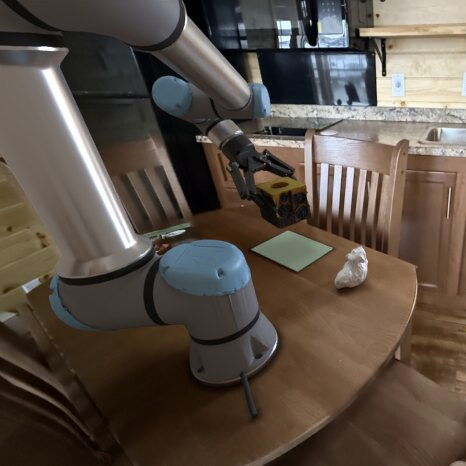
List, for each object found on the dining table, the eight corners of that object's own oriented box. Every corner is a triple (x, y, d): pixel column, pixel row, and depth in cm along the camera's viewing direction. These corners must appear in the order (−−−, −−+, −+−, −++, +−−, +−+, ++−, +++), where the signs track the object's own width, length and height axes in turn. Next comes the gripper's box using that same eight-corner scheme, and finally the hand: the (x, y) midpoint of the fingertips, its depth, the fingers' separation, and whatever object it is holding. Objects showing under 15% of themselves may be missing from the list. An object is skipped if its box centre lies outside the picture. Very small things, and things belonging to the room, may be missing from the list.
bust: (341, 302, 78) (363, 281, 71) (320, 280, 78) (340, 257, 71) (367, 276, 87) (389, 255, 80) (348, 256, 87) (368, 234, 80)
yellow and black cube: (312, 218, 88) (308, 184, 83) (279, 230, 82) (272, 195, 77) (293, 207, 94) (287, 175, 89) (260, 218, 88) (253, 184, 83)
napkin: (333, 248, 95) (333, 248, 95) (297, 272, 85) (297, 271, 84) (288, 231, 104) (288, 230, 104) (250, 250, 94) (250, 249, 94)
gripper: (259, 141, 94) (309, 195, 97) (186, 165, 74) (252, 232, 77) (270, 124, 90) (322, 181, 93) (196, 144, 70) (266, 216, 73)
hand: (291, 204), depth 85 cm, fingers closed on yellow and black cube, 12 cm apart
